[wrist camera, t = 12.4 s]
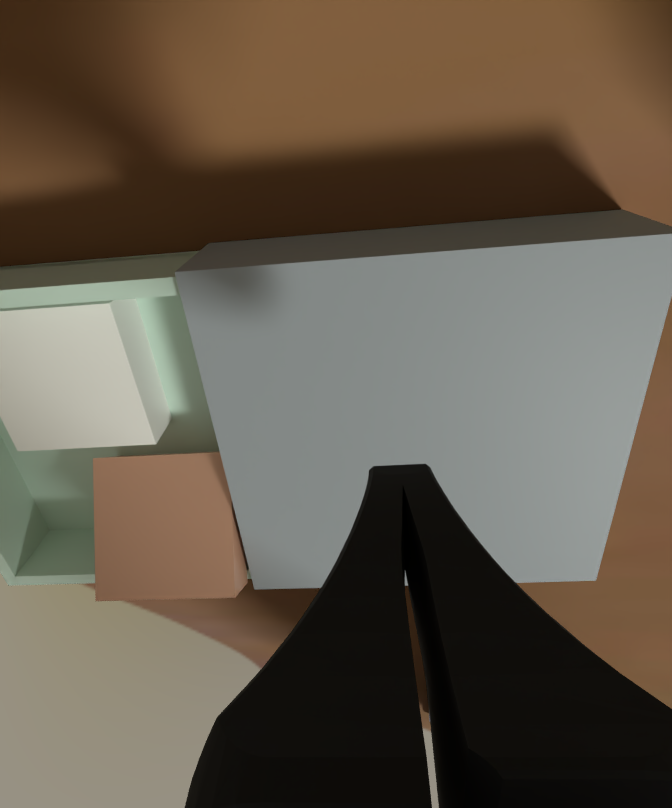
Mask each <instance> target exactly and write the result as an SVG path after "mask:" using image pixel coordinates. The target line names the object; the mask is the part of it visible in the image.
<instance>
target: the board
mask: <svg viewBox="0 0 672 808" xmlns="http://www.w3.org/2000/svg"><path fill="white" fill-rule="evenodd" d="M175 276H176V280H177V284H178V288H179V292H180V296H181V300H182V304H183V308H184V312H185V316H186V320H187V324H188V328H189V332H190V335H191V339H192V343H193V347H194V351H195V355H196V359H197V363H198V367H199V371H200V375H201V379H202V383H203V387H204V391H205V395H206V399H207V403H208V407H209V411H210V415H211V419H212V423H213V427H214V431H215V435H216V439H217V443H218V447H219V451H220V455H221V459H222V463H223V467H224V471H225V475H226V479H227V483H228V487H229V490H230V494H231V498H232V502H233V506H234V510H235V514H236V518H237V522H238V526H239V530H240V534H241V538H242V542H243V546H244V550H245V554H246V558H247V562H248V566H249V570H250V574H251V578H252V582H253V586H254V590H255V589H294V588H321V587H322V585H323V584H324V582H325V580H326V579H327V577H328V575H329V573H330V572H331V570H332V568H333V566H334V564H335V562H336V561H337V559H338V557H339V555H340V552H341V550H342V548H343V546H344V544H345V542H346V540H347V538H348V536H349V534H350V531H351V529H352V527H353V524H354V521H355V519H356V516H357V514H358V511H359V509H360V506H361V503H362V500H363V497H364V494H365V490H366V486H367V481H368V476H369V470H370V469H371V468H372V467H373V466H386V465H407V464H427V465H428V466H429V467H430V468H431V470H432V472H433V474H434V476H435V478H436V480H437V481H438V483H439V485H440V487H441V488H442V490H443V492H444V493H445V495H446V496H447V498H448V499H449V501H450V503H451V504H452V505H453V507H454V508H455V510H456V511H457V513H458V514H459V515H460V517H461V518H462V520H463V521H464V522H465V524H466V525H467V526H468V528H469V529H470V531H471V532H472V533H473V534H474V536H475V537H476V538H477V539H478V541H479V542H480V543H481V544H482V546H483V547H484V548H485V549H486V550H487V552H488V553H489V554H490V555H491V556H492V558H493V559H494V560H495V561H496V562H497V563H498V564H499V566H500V567H501V568H502V569H503V570H504V571H505V572H506V573H507V574H508V575H509V576H510V577H511V578H512V579H513V580H514V582H515V583H523V582H562V581H596V578H597V575H598V571H599V567H600V563H601V559H602V556H603V552H604V548H605V544H606V541H607V537H608V533H609V529H610V526H611V522H612V518H613V514H614V511H615V507H616V503H617V499H618V495H619V492H620V488H621V484H622V480H623V477H624V473H625V469H626V465H627V462H628V458H629V454H630V450H631V447H632V443H633V439H634V435H635V432H636V428H637V424H638V420H639V416H640V413H641V409H642V405H643V401H644V398H645V394H646V390H647V386H648V383H649V379H650V375H651V371H652V368H653V364H654V360H655V356H656V353H657V349H658V345H659V341H660V337H661V334H662V330H663V326H664V322H665V319H666V315H667V311H668V307H669V304H670V300H671V296H672V227H671V226H669V225H666V224H663V223H660V222H657V221H654V220H651V219H648V218H646V217H643V216H640V215H637V214H634V213H631V212H628V211H626V210H623V209H622V210H610V211H597V212H585V213H573V214H561V215H548V216H536V217H524V218H511V219H499V220H487V221H475V222H462V223H450V224H438V225H425V226H413V227H401V228H389V229H376V230H364V231H352V232H339V233H327V234H315V235H303V236H290V237H278V238H266V239H253V240H241V241H229V242H217V243H208V244H207V245H206V246H205V247H204V248H202V249H201V250H200V251H199V252H198V253H197V254H195V255H194V256H193V257H192V258H191V259H189V260H188V261H187V262H186V263H185V264H184V265H182V266H181V267H180V268H179V269H178V270H176V271H175ZM405 586H408V583H407V577H406V572H405Z"/></svg>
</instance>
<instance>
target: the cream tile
mask: <svg viewBox="0 0 672 808" xmlns="http://www.w3.org/2000/svg"><path fill="white" fill-rule="evenodd" d="M0 417H1V419H2V421H3V423H4V425H5V427H6V429H7V431H8V433H9V435H10V437H11V439H12V441H13V443H14V445H15V447H16V449H17V451H35V450H55V449H74V448H94V447H113V446H133V445H152V444H157V442H158V440H159V439H160V437H161V436H162V434H163V432H164V431H165V429H166V427H167V426H168V424H169V423H170V421H171V419H172V417H171V413H170V410H169V407H168V403H167V400H166V397H165V393H164V390H163V387H162V384H161V380H160V377H159V374H158V370H157V367H156V364H155V360H154V357H153V354H152V350H151V347H150V344H149V340H148V337H147V334H146V330H145V327H144V324H143V320H142V317H141V314H140V310H139V307H138V304H137V301H136V299H124V300H110V301H96V302H83V303H69V304H56V305H42V306H28V307H15V308H1V309H0Z"/></svg>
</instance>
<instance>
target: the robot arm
mask: <svg viewBox="0 0 672 808" xmlns="http://www.w3.org/2000/svg"><path fill="white" fill-rule="evenodd" d="M405 572H406V577H407V583H408V588H409V593H410V598H411V603H412V608H413V613H414V619H415V624H416V629H417V634H418V639H419V644H420V649H421V654H422V659H423V666H424V672H425V678H426V686H427V696H428V705H429V721H430V724H431V733H432V743H433V753H434V762H435V772H436V782H437V792H438V802H439V808H672V709H671V708H669V707H668V706H666V705H665V704H664V703H662V702H661V701H659V700H658V699H656V698H655V697H654V696H652V695H651V694H649V693H648V692H646V691H645V690H643V689H642V688H641V687H639V686H638V685H636V684H635V683H633V682H632V681H630V680H629V679H628V678H626V677H625V676H623V675H622V674H620V673H619V672H618V671H616V670H615V669H614V668H613V667H611V666H610V665H609V664H607V663H606V662H605V661H604V660H602V659H601V658H600V657H598V656H597V655H596V654H595V653H593V652H592V651H591V650H590V649H588V648H587V647H586V646H585V645H583V644H582V643H581V642H580V641H579V640H578V639H576V638H575V637H574V636H573V635H572V634H571V633H569V632H568V631H567V630H566V629H565V628H564V627H563V626H561V625H560V624H559V623H558V622H557V621H556V620H554V619H553V618H552V617H551V616H550V615H549V614H547V613H546V612H545V611H544V610H543V609H542V608H541V607H540V606H539V605H538V604H537V603H536V602H535V601H534V600H533V599H532V598H530V597H529V596H528V595H527V594H526V593H525V592H524V591H523V590H522V589H521V588H520V587H519V586H518V585H517V584H516V583H515V582H514V580H513V579H512V578H511V577H510V576H509V575H508V574H507V573H506V572H505V571H504V570H503V569H502V568H501V567H500V566H499V564H498V563H497V562H496V561H495V560H494V559H493V558H492V556H491V555H490V554H489V553H488V552H487V550H486V549H485V548H484V547H483V546H482V544H481V543H480V542H479V541H478V539H477V538H476V537H475V536H474V534H473V533H472V532H471V531H470V529H469V528H468V526H467V525H466V524H465V522H464V521H463V520H462V518H461V517H460V515H459V514H458V513H457V511H456V510H455V508H454V507H453V505H452V504H451V503H450V501H449V499H448V498H447V496H446V495H445V493H444V492H443V490H442V488H441V487H440V485H439V483H438V481H437V480H436V478H435V476H434V474H433V472H432V470H431V468H430V467H429V466H428V465H427V464H407V465H386V466H373V467H372V468H371V469H370V470H369V476H368V481H367V486H366V490H365V494H364V497H363V500H362V503H361V506H360V509H359V511H358V514H357V516H356V519H355V521H354V524H353V527H352V529H351V531H350V534H349V536H348V538H347V540H346V542H345V544H344V546H343V548H342V550H341V552H340V555H339V557H338V559H337V561H336V562H335V564H334V566H333V568H332V570H331V572H330V573H329V575H328V577H327V579H326V580H325V582H324V584H323V585H322V587H321V589H320V590H319V592H318V594H317V595H316V597H315V598H314V600H313V601H312V603H311V604H310V606H309V607H308V609H307V610H306V612H305V613H304V615H303V616H302V618H301V619H300V620H299V622H298V623H297V625H296V626H295V627H294V629H293V630H292V631H291V633H290V634H289V635H288V637H287V638H286V639H285V640H284V642H283V643H282V644H281V645H280V647H279V648H278V649H277V650H276V652H275V653H274V654H273V655H272V657H271V658H270V659H269V660H268V662H267V663H266V664H265V665H264V667H263V668H262V669H261V670H260V671H259V672H258V674H257V675H256V676H255V677H254V678H253V679H252V680H251V681H250V682H249V684H248V685H247V686H246V687H245V688H244V689H243V690H242V691H241V692H240V693H239V694H238V695H237V696H236V698H235V699H234V700H233V701H232V702H231V703H230V704H229V705H228V706H227V707H226V708H225V709H224V710H223V712H222V713H221V714H220V715H219V716H218V717H217V719H216V721H215V723H214V725H213V727H212V729H211V732H210V734H209V736H208V738H207V741H206V743H205V746H204V748H203V751H202V753H201V756H200V758H199V761H198V764H197V767H196V770H195V772H194V775H193V778H192V781H191V785H190V788H189V792H188V797H187V801H186V805H185V808H432V804H431V794H430V785H429V776H428V767H427V757H426V750H425V744H424V737H423V729H422V722H421V715H420V708H419V700H418V693H417V686H416V678H415V671H414V663H413V655H412V647H411V639H410V631H409V623H408V615H407V606H406V598H405Z"/></svg>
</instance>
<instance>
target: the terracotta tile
mask: <svg viewBox="0 0 672 808" xmlns="http://www.w3.org/2000/svg"><path fill="white" fill-rule="evenodd" d="M93 491H94V542H95V592H96V601H122V600H163V599H203V598H235V597H236V596H237V595H238V594H239V592H240V591H241V590H242V589H243V588H244V587H245V585H246V584H247V583H248V579H247V558H246V554H245V550H244V546H243V542H242V538H241V534H240V530H239V526H238V522H237V518H236V514H235V510H234V506H233V502H232V498H231V494H230V490H229V487H228V483H227V479H226V475H225V471H224V467H223V463H222V459H221V455H220V451H212V452H191V453H170V454H149V455H128V456H112V457H102V458H93Z"/></svg>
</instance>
